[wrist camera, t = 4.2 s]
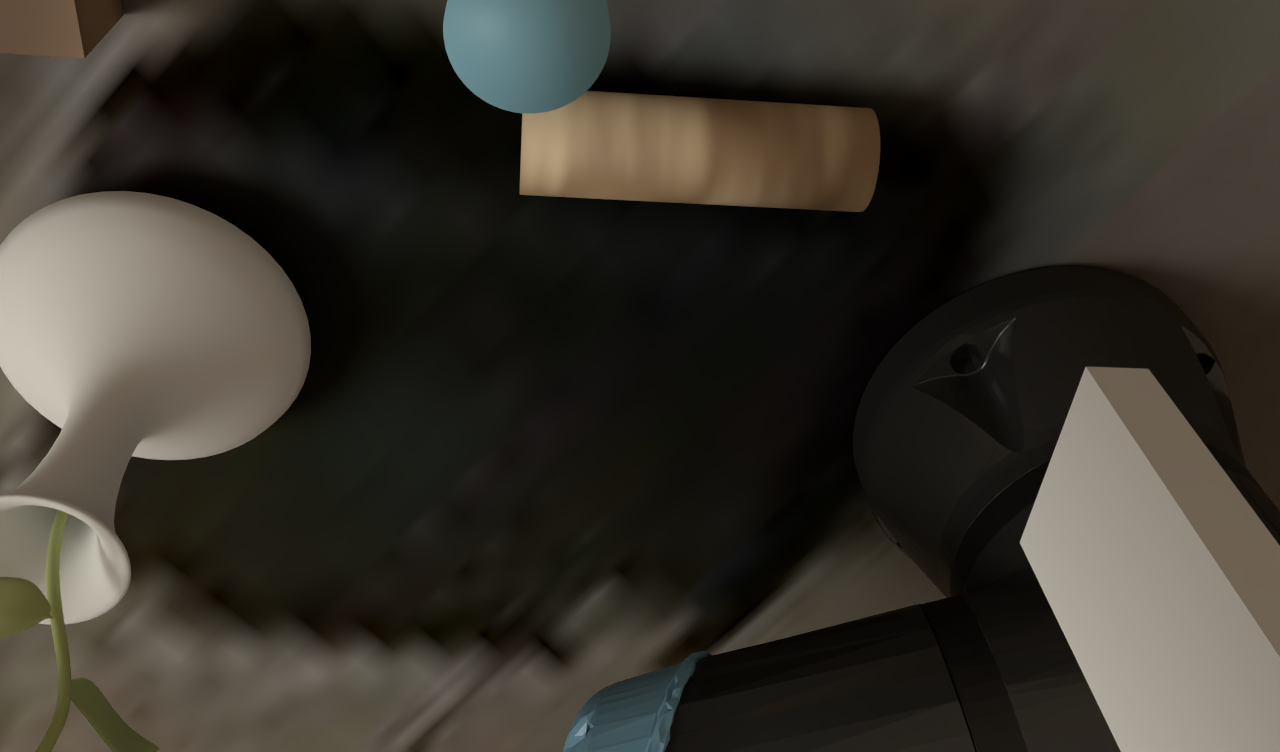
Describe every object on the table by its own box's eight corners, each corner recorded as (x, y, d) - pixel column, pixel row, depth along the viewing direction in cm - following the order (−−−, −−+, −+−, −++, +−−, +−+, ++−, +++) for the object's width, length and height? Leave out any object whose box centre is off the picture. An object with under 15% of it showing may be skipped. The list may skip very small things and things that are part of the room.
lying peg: (844, 162, 44) (869, 86, 41) (858, 233, 42) (886, 158, 39) (521, 144, 43) (524, 64, 40) (518, 216, 40) (521, 137, 38)
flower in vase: (-59, 205, 42) (-634, 837, 21) (252, 140, 41) (-32, 723, 21) (106, 480, 49) (-201, 1143, 29) (371, 428, 48) (250, 1066, 28)
